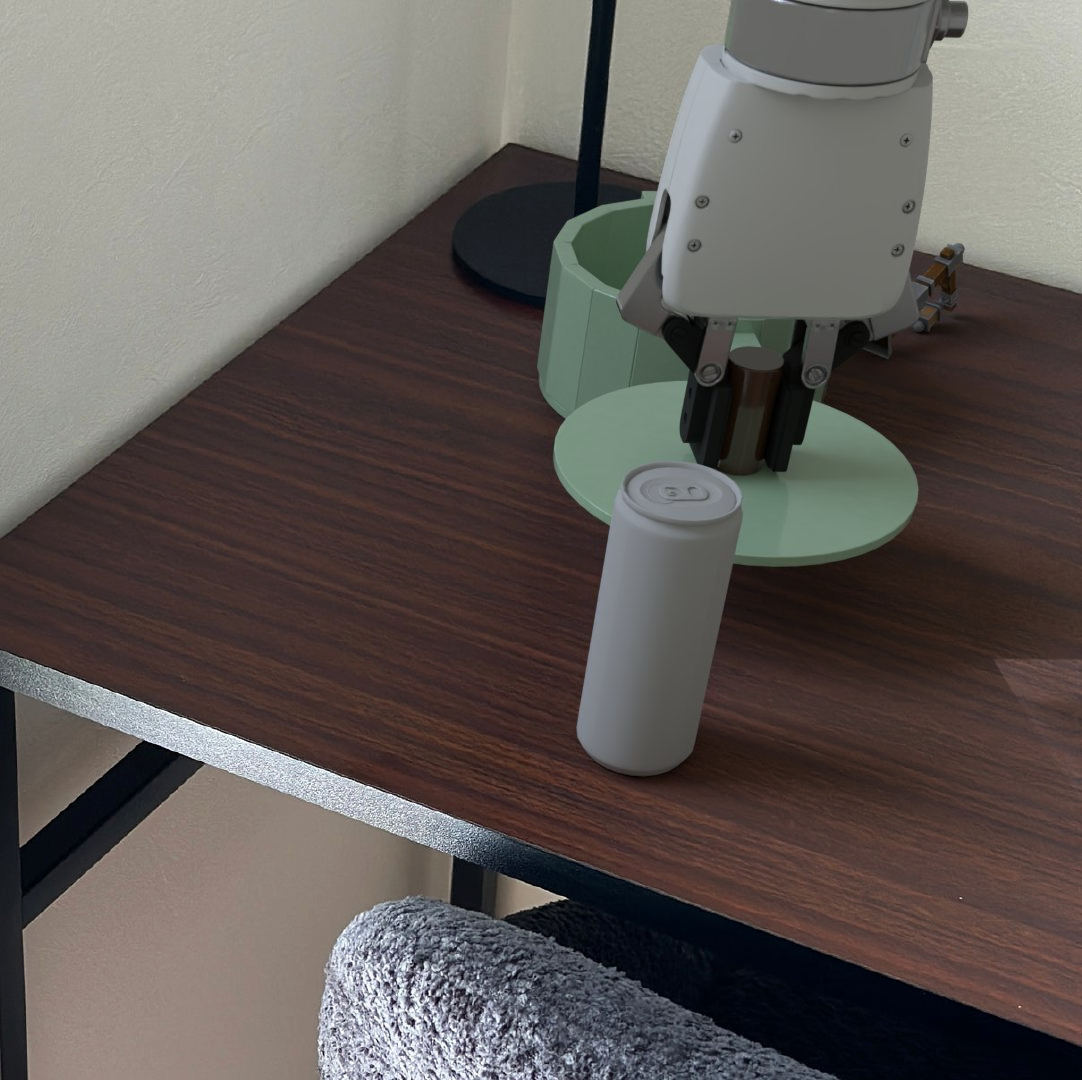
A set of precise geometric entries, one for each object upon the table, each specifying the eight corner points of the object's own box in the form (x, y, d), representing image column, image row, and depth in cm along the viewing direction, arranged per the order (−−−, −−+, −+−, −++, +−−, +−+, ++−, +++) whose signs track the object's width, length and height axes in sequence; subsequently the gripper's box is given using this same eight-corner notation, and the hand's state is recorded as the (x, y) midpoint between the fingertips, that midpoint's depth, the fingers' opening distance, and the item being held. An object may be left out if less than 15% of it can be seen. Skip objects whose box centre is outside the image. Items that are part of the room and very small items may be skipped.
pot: (773, 309, 120) (800, 180, 115) (865, 486, 104) (900, 346, 99) (514, 305, 119) (530, 176, 115) (568, 483, 104) (589, 341, 99)
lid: (860, 404, 100) (890, 283, 96) (958, 582, 88) (997, 452, 84) (528, 398, 100) (545, 275, 96) (580, 576, 87) (602, 444, 84)
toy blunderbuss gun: (975, 300, 119) (976, 238, 115) (889, 392, 117) (888, 332, 114) (947, 290, 120) (947, 228, 116) (862, 381, 118) (859, 321, 115)
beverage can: (564, 714, 89) (605, 459, 81) (676, 712, 89) (728, 457, 81) (587, 784, 85) (633, 523, 77) (704, 781, 85) (761, 521, 78)
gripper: (1002, 3, 84) (893, 419, 96) (603, -7, 84) (542, 413, 96) (1064, 68, 79) (940, 502, 90) (636, 57, 78) (567, 496, 90)
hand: (736, 453), depth 93 cm, fingers closed on lid, 2 cm apart
